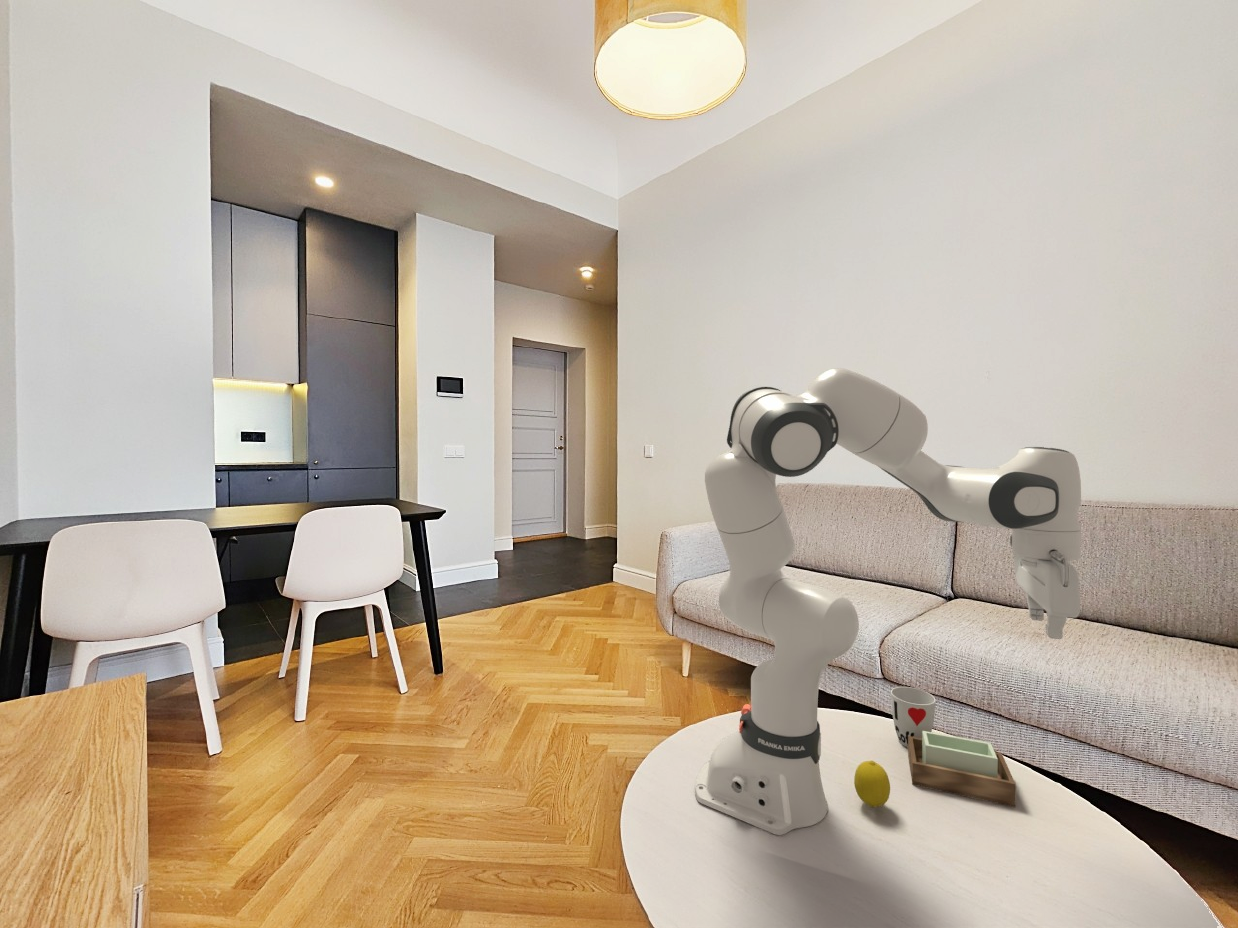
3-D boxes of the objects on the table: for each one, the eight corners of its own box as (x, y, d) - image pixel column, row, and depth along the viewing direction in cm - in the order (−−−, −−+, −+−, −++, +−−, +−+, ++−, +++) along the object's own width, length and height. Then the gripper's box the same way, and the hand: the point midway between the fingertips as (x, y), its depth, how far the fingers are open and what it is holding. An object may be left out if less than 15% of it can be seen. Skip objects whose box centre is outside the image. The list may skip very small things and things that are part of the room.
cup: (884, 742, 111) (884, 694, 111) (899, 728, 116) (899, 682, 116) (927, 758, 105) (927, 708, 104) (940, 743, 110) (941, 695, 110)
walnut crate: (912, 784, 97) (912, 762, 97) (908, 755, 106) (908, 735, 106) (1015, 807, 91) (1015, 784, 90) (1001, 774, 100) (1001, 753, 99)
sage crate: (925, 777, 98) (925, 745, 98) (922, 760, 103) (922, 730, 103) (997, 792, 93) (997, 758, 93) (990, 774, 98) (990, 742, 98)
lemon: (853, 812, 90) (854, 766, 90) (854, 793, 95) (854, 748, 95) (890, 821, 87) (890, 774, 87) (889, 801, 92) (889, 756, 92)
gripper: (1094, 559, 77) (1093, 653, 78) (1049, 536, 96) (1049, 612, 96) (1040, 556, 80) (1040, 647, 80) (1007, 534, 98) (1006, 608, 99)
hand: (1044, 627), depth 88 cm, fingers open, 8 cm apart
